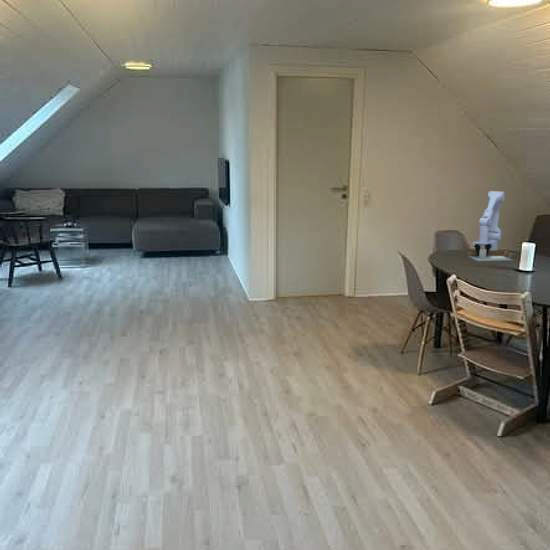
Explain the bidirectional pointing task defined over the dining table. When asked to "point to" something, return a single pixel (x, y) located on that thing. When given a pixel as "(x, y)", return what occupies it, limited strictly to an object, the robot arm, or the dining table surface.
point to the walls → (495, 254)
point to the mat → (494, 258)
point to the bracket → (484, 255)
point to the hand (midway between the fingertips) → (481, 255)
